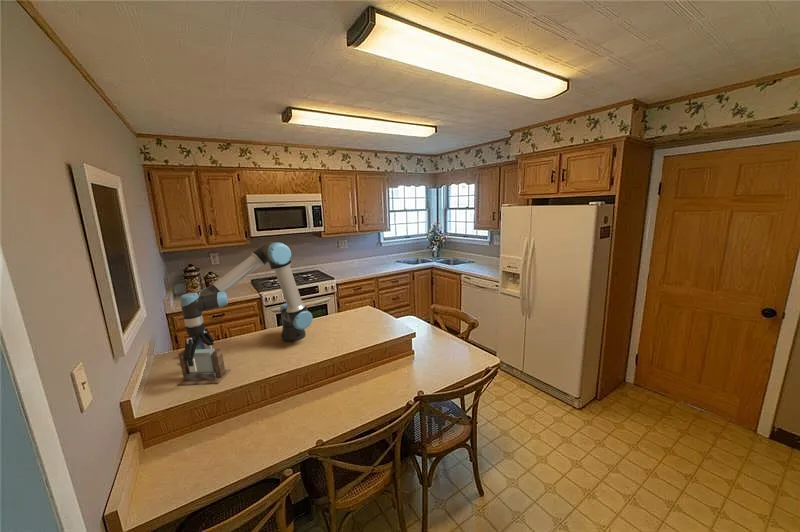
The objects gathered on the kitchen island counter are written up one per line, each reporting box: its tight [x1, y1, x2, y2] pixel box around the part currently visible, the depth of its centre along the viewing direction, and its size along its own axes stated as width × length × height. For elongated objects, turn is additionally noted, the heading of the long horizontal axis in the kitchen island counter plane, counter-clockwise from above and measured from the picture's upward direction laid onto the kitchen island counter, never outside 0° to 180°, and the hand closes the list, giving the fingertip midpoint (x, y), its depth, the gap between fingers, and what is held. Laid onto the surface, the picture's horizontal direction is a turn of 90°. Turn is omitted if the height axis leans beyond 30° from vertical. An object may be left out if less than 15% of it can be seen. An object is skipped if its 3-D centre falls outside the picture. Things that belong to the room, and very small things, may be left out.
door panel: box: [187, 348, 217, 376], centre depth 155 cm, size 12×4×14 cm, turn 90°
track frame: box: [177, 348, 232, 387], centre depth 155 cm, size 20×12×15 cm, turn 90°
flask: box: [192, 341, 206, 350], centre depth 179 cm, size 9×3×11 cm, turn 138°
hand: (202, 364), depth 155 cm, fingers open, 13 cm apart
